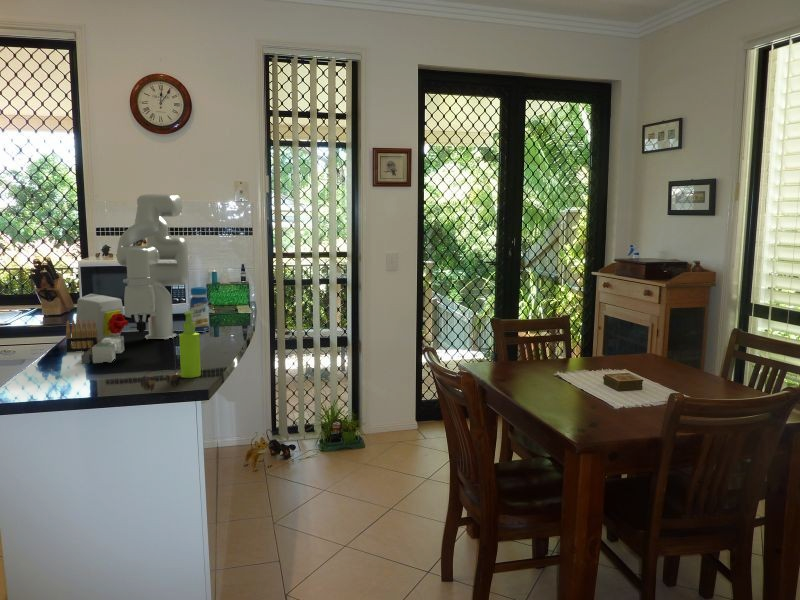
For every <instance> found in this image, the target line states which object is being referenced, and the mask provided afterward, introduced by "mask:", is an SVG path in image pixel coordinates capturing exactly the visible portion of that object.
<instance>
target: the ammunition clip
mask: <svg viewBox="0 0 800 600" xmlns="http://www.w3.org/2000/svg"><path fill="white" fill-rule="evenodd" d="M92 325H93V327H92V330H91V324H90V320H89V319H88V322H87V332H86V326H85V321H84V319H83V321H82V334H81V327H80V322H79V320H78V321H77V337H76V329H75V328H76V321H75V320H74V319H72V321H71V325H70V321H69V320H67V321H66V327H65V328H66V329H65V330H66V331H65V335H66V336H65V337H66V343H65V345H66V346H65V347H66V348H65V349H66V351H65V352H66V353H74V352H75V353H77V352H76V351H82V352H86V351H88V350H89V349H90V348H92V347H93V346H94V345H96V344H97V343H98V339H97V329H96V322H95V320H94V319H93V324H92ZM92 341H93V344H92ZM87 343H88V344H87Z"/></svg>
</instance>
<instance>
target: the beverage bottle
mask: <svg viewBox="0 0 800 600" xmlns="http://www.w3.org/2000/svg"><path fill="white" fill-rule="evenodd" d="M207 293H208V289H207V287H205V286H196V287H191V288H190V295H191V296H192V297H191V298H190V301H189V305H190V307H189V311H195V313H193V314H192V321H193V322H195V331H205V330H209V329H210V330H211V328H210V306H209V303H210V302H209V299H208V297H207V296H206V295H207Z"/></svg>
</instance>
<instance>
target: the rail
mask: <svg viewBox="0 0 800 600" xmlns="http://www.w3.org/2000/svg"><path fill="white" fill-rule="evenodd" d="M105 338H111V339H112V341H113V342H114V344H111V342H110V343H97V344H96V345H94V346H93V347H92V348H90V349H89V350H88V351H84V352H83V354H81V355H80V357H81V358H80V360H81V365H88V364H89V363H90V362H91V363H92V364H100V363H101V364H103V362H108V363H113V362H114V361H115V360H116V354H122V353H123V352H124V351H125V338H124V335H121V334H120V335H108V336H107V337H105ZM115 344H116V346H117V347H116V351H115ZM114 359H115V360H114ZM113 360H114V361H113ZM112 361H113V362H112ZM83 363H84V364H83ZM86 363H87V364H86ZM91 363H90V364H91Z"/></svg>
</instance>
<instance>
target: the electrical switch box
mask: <svg viewBox="0 0 800 600" xmlns="http://www.w3.org/2000/svg"><path fill="white" fill-rule="evenodd" d="M123 305H124V304H123V302H122V299H121V298H119V297H113V296H108V295H102V294H96V293H89V294H86V295H84V296H82V297H79V298H78V299H77V303H76V317H75V329H76V337H77V321H78V320H79V322H80V327H81V334H82V321H83V319H84V321H85V326H86V332H87V322H88V319H89V320H90V324H91V330H92V327H93V325H92V324H93V319H94V320H95V322H96V329H97V339H98V343H101V342H102V339H104V338H105V337H107V336H108V335H120V336H121V333H122V330H123V329H124V327H125V326H128V325H129V320H126V319H125V318H126V317H125V315H124V314H123V312H124V306H123ZM92 344H93V341H92ZM87 345H88V343H87Z"/></svg>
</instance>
